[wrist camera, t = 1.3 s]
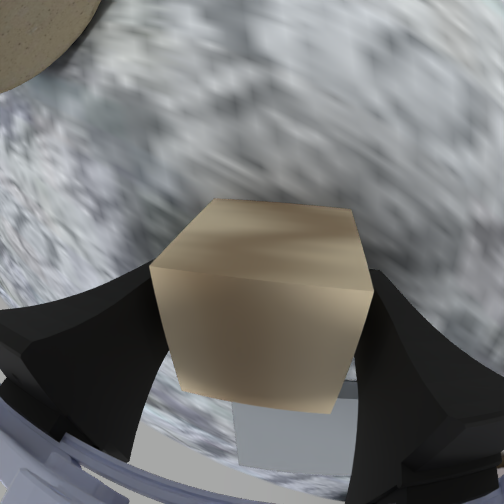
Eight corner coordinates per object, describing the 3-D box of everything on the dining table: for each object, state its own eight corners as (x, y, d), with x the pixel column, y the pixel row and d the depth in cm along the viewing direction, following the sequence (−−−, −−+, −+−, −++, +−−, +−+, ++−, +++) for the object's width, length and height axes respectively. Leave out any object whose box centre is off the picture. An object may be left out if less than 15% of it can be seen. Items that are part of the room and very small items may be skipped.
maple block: (350, 208, 10) (374, 291, 6) (331, 316, 12) (330, 413, 8) (215, 197, 11) (149, 266, 6) (221, 303, 13) (181, 390, 9)
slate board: (484, 377, 12) (489, 391, 11) (405, 462, 19) (405, 472, 18) (235, 368, 15) (229, 384, 14) (241, 454, 22) (238, 465, 21)
